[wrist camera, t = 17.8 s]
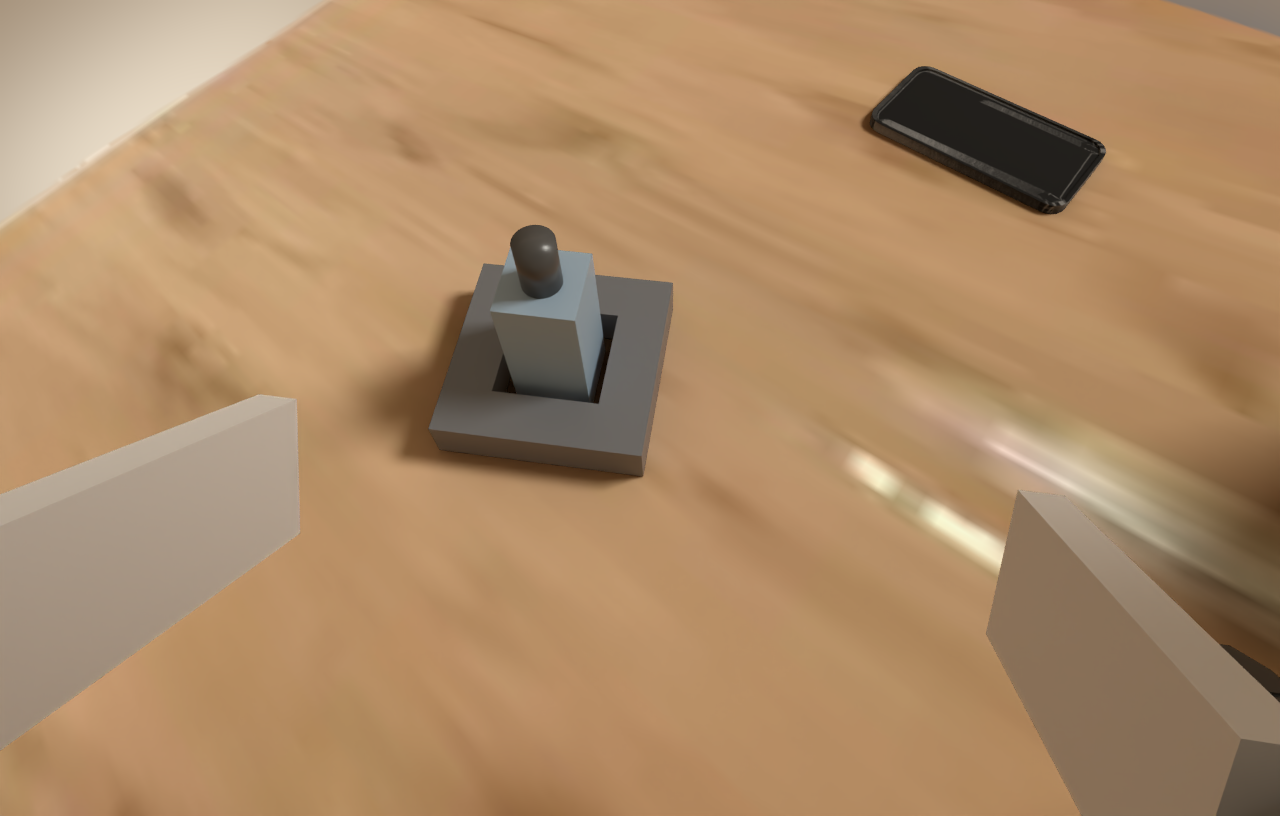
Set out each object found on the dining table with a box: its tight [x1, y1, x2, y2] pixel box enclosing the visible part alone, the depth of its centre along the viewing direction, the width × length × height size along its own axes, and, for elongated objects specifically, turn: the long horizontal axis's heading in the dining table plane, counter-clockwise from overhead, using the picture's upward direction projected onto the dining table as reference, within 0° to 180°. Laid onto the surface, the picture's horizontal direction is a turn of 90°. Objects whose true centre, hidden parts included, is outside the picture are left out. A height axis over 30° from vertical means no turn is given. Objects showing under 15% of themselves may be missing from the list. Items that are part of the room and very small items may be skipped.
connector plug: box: [490, 225, 605, 403], centre depth 44 cm, size 4×4×12 cm
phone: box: [870, 66, 1106, 214], centre depth 58 cm, size 8×1×15 cm
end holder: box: [428, 264, 673, 476], centre depth 48 cm, size 12×12×2 cm
